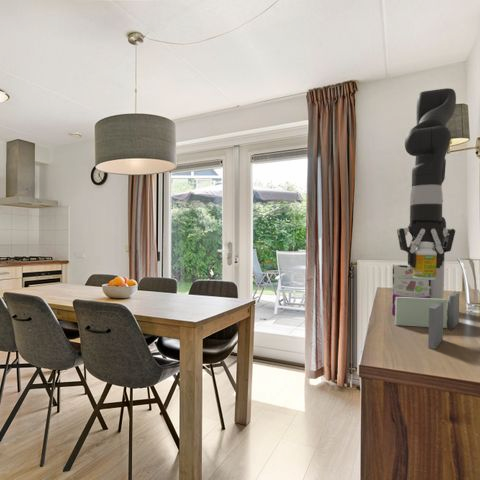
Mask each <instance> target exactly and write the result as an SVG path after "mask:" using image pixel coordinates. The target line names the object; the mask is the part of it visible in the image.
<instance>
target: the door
mask: <svg viewBox="0 0 480 480" xmlns="http://www.w3.org/2000/svg"><path fill="white" fill-rule="evenodd" d="M438 302H439V303H444V306H443V329H445V328H446V329H448V328H447V308H448V298H447V299H446V298H444V299H434V298H412V297H396V301H395V315H394V325H396V326H407V327H409V326H410V327H423V328H424V327H426V328H429V308H430V307H431V306H433V305H435V304H436V303H438Z"/></svg>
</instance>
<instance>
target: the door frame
mask: <svg viewBox="0 0 480 480" xmlns="http://www.w3.org/2000/svg"><path fill="white" fill-rule="evenodd" d="M443 306H444V303H439V302H438V303H436V304H435V305H433V306H431V307H430V308H429V327H428V342H427V343H428V344H427V345H428V346H427V349H432V350H435V349H436V348H438V346H439V345H440V343H442V342H443V340H444V328H443ZM459 322H460V291H459V292H458V291H454V292H452V293H451V294H449V295H447V328H446V329H448V330H449V329H450V330H454V329H455V327H456V326H457V325H458V324H459Z"/></svg>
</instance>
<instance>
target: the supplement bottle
mask: <svg viewBox="0 0 480 480" xmlns="http://www.w3.org/2000/svg"><path fill="white" fill-rule="evenodd" d="M433 248H434V242H420V243H419V245H418V246H417V248H416V250H415V252H414V254H416V258H415V268H413V278H415V279H423V280H435V279H436V264H437V253H436V251H434V250H433Z"/></svg>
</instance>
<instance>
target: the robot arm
mask: <svg viewBox="0 0 480 480" xmlns="http://www.w3.org/2000/svg"><path fill="white" fill-rule="evenodd" d="M456 103H457V95H456V91H455V90H454V89H453V88H450V87H449V88H439V89H438V88H437V89H432V90H431V89H430V90H424V91H421V92H419V94H418V96H417V99H416V125H415V126H413V127H412V128H411V129H410V130H409V132H408V133H407V134H406V137H405V139H404V140H405V141H404V149H405V151H406V153H407V154H409V155H410V156H412V157H415V161H414V163H415V164H414V166H413V168H412V170H411V191H410V199H409V200H410V201H409V204H410V205H409V207H410V208H409V211H410V212H409V225H408V226H407V227H404V228H402V227H400V228H397V229H396V233H397V237H398V243H399V248H400V250H401V251H404V252H406V253H407V265H410V267H412V268H415V258H416V254H414V252H415V250H417V249H418V247H417V246H418V245H419V243H420V242H434V248H433V250H434V251H436V253H437V264H436V279H435V280H431V289H430V298H434V299H445V297H444V296H445V295H444V293H445V288H444V287H445V253H448V252H450V251H451V250H452V247H453V243H454V240H455V239H454V238H455V235H456V230H455V229H454V228H447V221H446V219H445V217H444V216H443V202H444V199H443V195H444V194H443V186H442V185H443V183H444V181H445V179H446V165H447V163H446V162H447V161H446V155H447V153H448V150H449V148H450V144H451V138H452V135H451V131H450V129H449V128H448V127H447V126H446V125H447V123H448V122H449V121H450V120H451V118H453V115H454V113H455V110H456V105H457V104H456ZM408 233H410V235H411V240H410V243H409V245H408V243H407V237H406V236H407V235H408ZM451 252H452V251H451Z"/></svg>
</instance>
